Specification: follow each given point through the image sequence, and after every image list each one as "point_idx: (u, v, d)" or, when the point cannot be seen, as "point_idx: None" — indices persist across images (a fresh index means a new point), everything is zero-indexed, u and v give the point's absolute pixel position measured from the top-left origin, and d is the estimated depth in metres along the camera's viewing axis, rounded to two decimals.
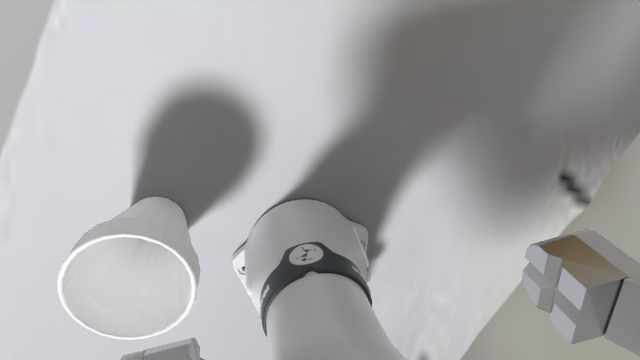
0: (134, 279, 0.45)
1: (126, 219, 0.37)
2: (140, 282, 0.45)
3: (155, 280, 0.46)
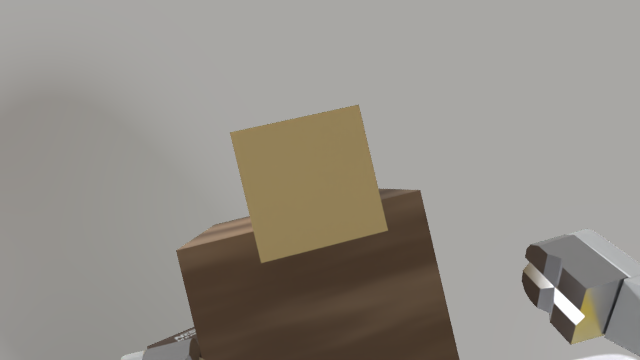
0: None
1: None
2: None
3: None
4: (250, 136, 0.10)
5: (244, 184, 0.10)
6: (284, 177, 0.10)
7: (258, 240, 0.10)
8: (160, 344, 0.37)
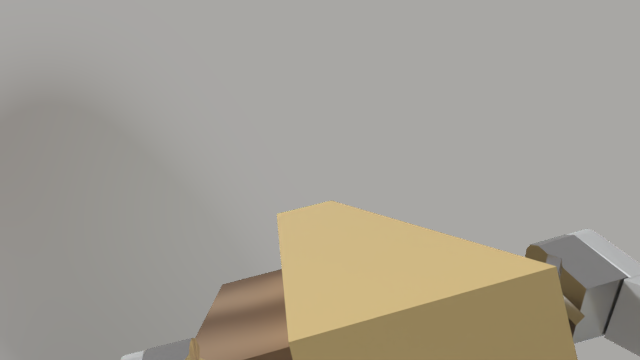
0: None
1: None
2: None
3: None
4: (332, 347, 0.05)
5: None
6: None
7: None
8: None
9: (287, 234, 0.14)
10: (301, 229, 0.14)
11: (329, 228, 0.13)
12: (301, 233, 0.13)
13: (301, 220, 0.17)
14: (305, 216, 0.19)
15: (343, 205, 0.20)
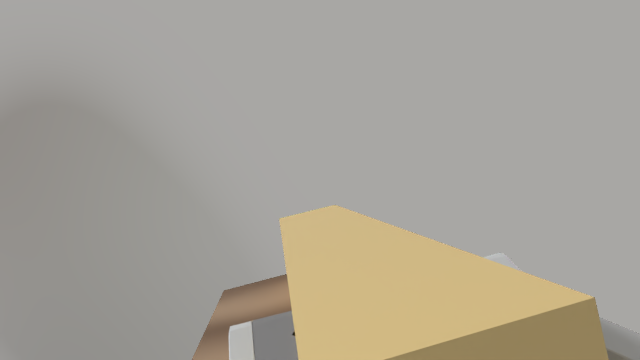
0: None
1: None
2: None
3: None
4: None
5: None
6: None
7: None
8: None
9: (291, 243, 0.14)
10: (306, 238, 0.14)
11: (335, 238, 0.13)
12: (306, 243, 0.13)
13: (305, 227, 0.17)
14: (309, 222, 0.18)
15: (348, 211, 0.19)
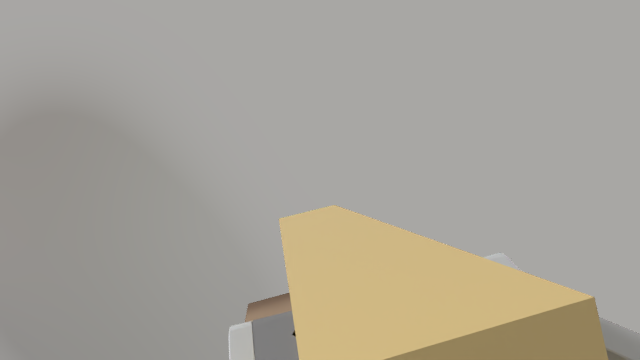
0: None
1: None
2: None
3: None
4: None
5: None
6: None
7: None
8: None
9: (291, 243, 0.14)
10: (306, 238, 0.14)
11: (335, 238, 0.13)
12: (306, 243, 0.13)
13: (305, 227, 0.17)
14: (309, 222, 0.18)
15: (347, 211, 0.19)
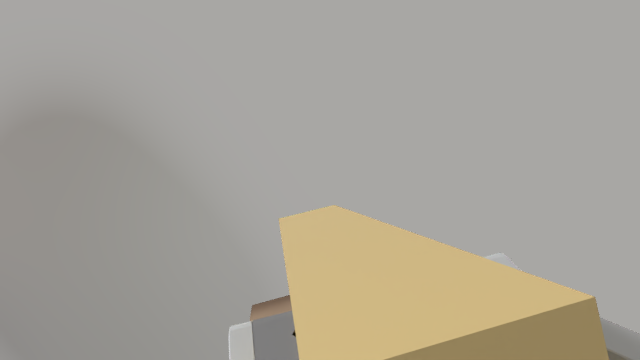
0: None
1: None
2: None
3: None
4: None
5: None
6: None
7: None
8: None
9: (291, 243, 0.14)
10: (305, 238, 0.14)
11: (335, 238, 0.13)
12: (306, 243, 0.13)
13: (305, 227, 0.17)
14: (308, 222, 0.18)
15: (347, 211, 0.19)
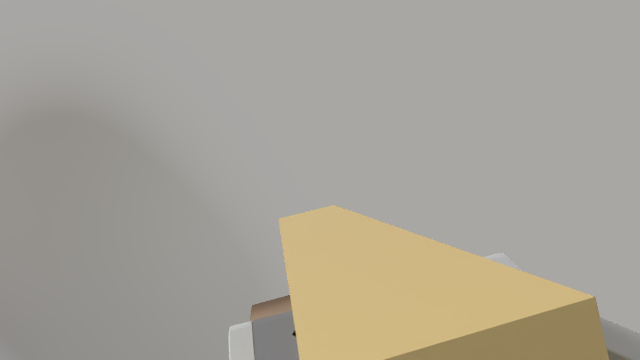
0: None
1: None
2: None
3: None
4: None
5: None
6: None
7: None
8: None
9: (291, 243, 0.14)
10: (305, 238, 0.14)
11: (335, 238, 0.13)
12: (306, 243, 0.13)
13: (304, 227, 0.17)
14: (308, 222, 0.18)
15: (347, 211, 0.19)
